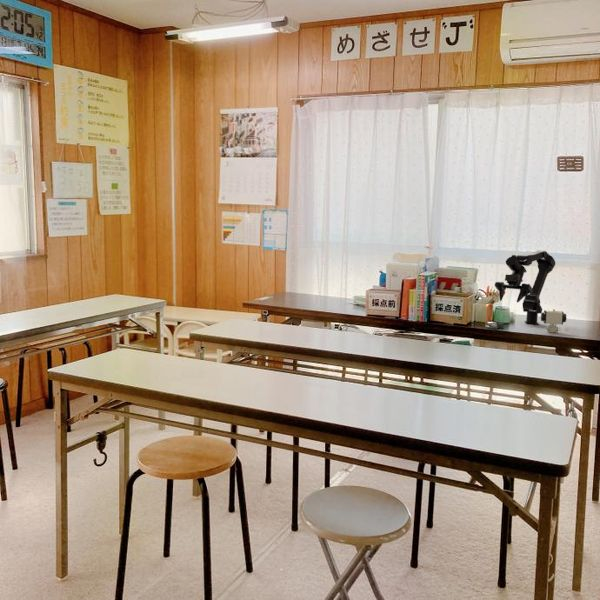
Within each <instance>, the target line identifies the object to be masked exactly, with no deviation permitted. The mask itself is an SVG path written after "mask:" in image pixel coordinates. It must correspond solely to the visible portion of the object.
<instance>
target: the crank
mask: <svg viewBox="0 0 600 600" xmlns="http://www.w3.org/2000/svg"><path fill="white" fill-rule="evenodd" d="M493 308H494V304H493V303H486V309H485V310H486V312H485V313H486V314H485V325H489V326H491V327H496V326H497V325H498V322H496V321H493V311H494V309H493Z"/></svg>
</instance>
